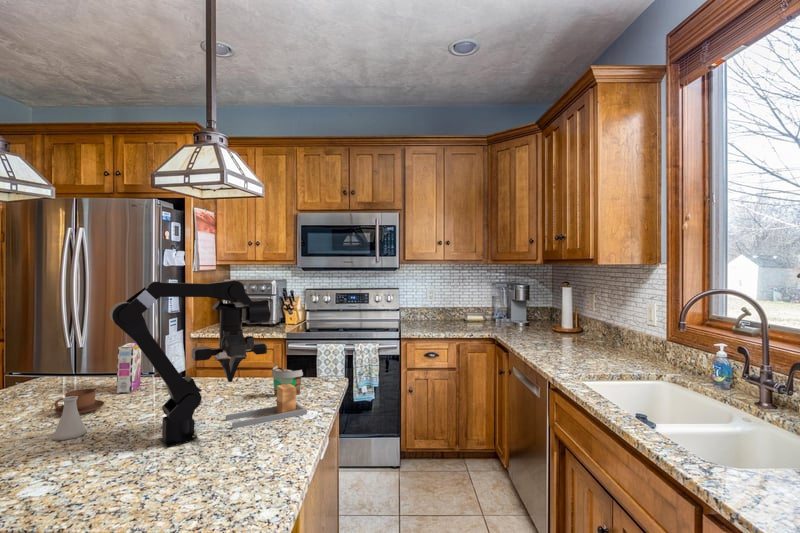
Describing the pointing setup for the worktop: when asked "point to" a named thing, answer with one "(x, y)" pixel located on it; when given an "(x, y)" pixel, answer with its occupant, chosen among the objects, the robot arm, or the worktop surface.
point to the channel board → (298, 412)
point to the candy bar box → (128, 368)
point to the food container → (286, 378)
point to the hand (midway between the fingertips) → (229, 381)
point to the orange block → (286, 398)
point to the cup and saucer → (82, 401)
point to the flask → (69, 421)
